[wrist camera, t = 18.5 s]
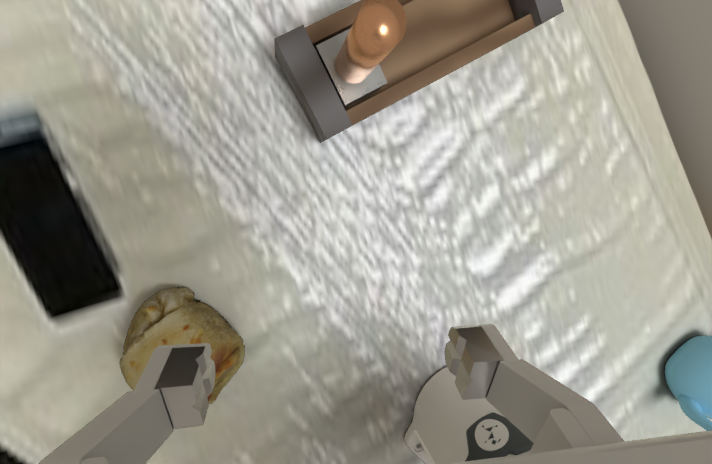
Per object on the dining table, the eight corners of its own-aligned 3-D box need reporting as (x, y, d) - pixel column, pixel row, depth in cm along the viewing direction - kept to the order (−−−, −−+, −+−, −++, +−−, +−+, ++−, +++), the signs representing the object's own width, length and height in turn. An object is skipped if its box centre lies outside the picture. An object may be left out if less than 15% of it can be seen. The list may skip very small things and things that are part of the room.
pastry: (243, 393, 42) (235, 443, 34) (131, 400, 39) (94, 456, 31) (248, 285, 40) (240, 313, 32) (128, 283, 37) (89, 314, 29)
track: (531, 29, 42) (564, 11, 37) (320, 142, 38) (326, 138, 34) (503, -57, 39) (534, -89, 34) (275, 56, 36) (274, 38, 31)
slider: (379, 89, 37) (430, 48, 25) (340, 110, 37) (371, 78, 24) (354, 35, 35) (395, -39, 23) (312, 55, 35) (332, -9, 22)
